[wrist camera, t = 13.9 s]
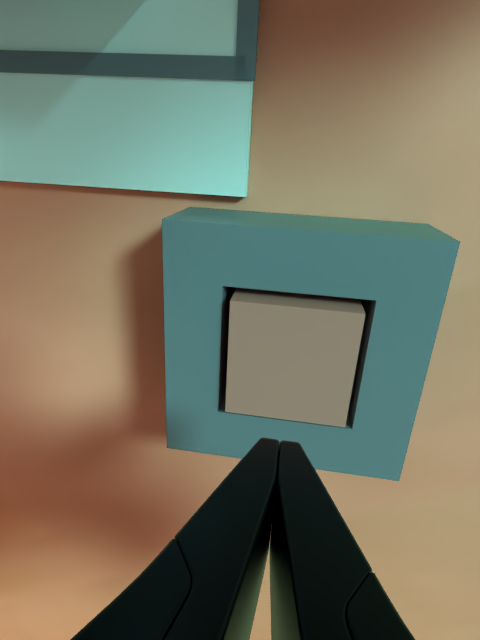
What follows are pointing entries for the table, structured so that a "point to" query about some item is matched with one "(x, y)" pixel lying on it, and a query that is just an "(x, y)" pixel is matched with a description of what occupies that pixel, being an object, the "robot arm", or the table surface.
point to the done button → (292, 355)
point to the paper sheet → (128, 93)
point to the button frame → (306, 278)
